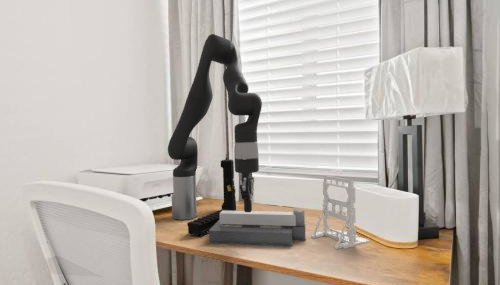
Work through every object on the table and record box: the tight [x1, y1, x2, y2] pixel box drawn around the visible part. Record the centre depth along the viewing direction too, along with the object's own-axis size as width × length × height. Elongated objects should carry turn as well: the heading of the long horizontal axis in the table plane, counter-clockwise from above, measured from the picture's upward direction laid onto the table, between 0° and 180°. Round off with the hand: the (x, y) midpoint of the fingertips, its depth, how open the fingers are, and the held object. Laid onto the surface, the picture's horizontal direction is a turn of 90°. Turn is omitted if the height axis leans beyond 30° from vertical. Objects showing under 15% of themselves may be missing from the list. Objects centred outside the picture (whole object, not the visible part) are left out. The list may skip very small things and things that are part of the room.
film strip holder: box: [310, 174, 370, 250], centre depth 106 cm, size 14×14×20 cm
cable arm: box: [220, 209, 306, 226], centre depth 110 cm, size 28×4×4 cm, turn 81°
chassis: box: [208, 219, 306, 247], centre depth 110 cm, size 30×16×4 cm, turn 81°
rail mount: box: [186, 208, 231, 238], centre depth 120 cm, size 21×6×5 cm, turn 152°
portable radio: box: [220, 153, 237, 211], centre depth 145 cm, size 8×6×25 cm
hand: (248, 211), depth 104 cm, fingers closed
